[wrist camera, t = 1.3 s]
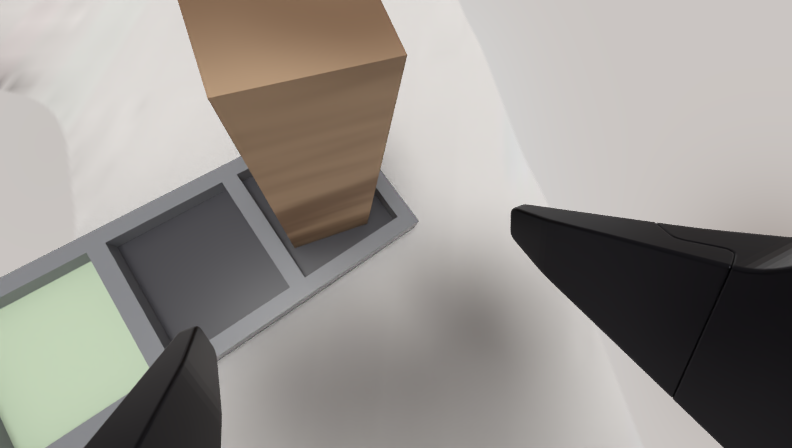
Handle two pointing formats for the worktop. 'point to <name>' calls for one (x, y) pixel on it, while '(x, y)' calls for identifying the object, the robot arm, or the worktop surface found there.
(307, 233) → the walnut block
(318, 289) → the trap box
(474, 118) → the worktop surface
